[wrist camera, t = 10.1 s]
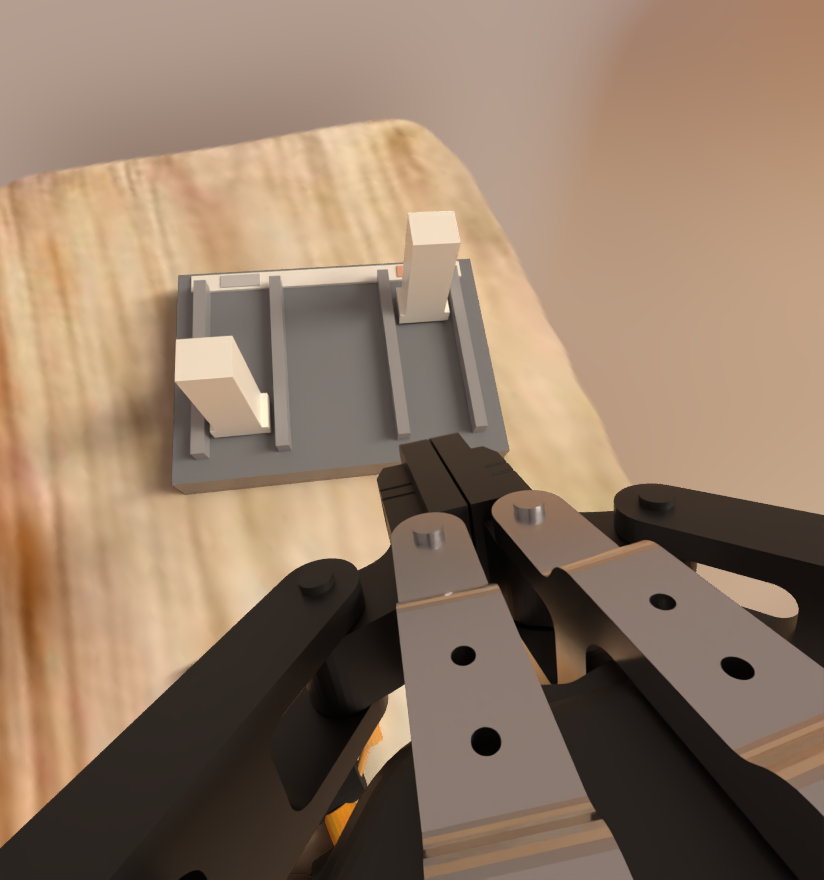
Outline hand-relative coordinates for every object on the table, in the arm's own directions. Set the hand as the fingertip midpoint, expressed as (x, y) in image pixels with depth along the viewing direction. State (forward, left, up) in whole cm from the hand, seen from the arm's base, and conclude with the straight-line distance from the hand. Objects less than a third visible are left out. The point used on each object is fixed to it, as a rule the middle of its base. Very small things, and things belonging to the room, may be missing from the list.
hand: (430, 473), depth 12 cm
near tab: (-9, +10, -19) cm, 23 cm away
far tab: (+4, +18, -19) cm, 26 cm away
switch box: (-2, +14, -22) cm, 26 cm away
